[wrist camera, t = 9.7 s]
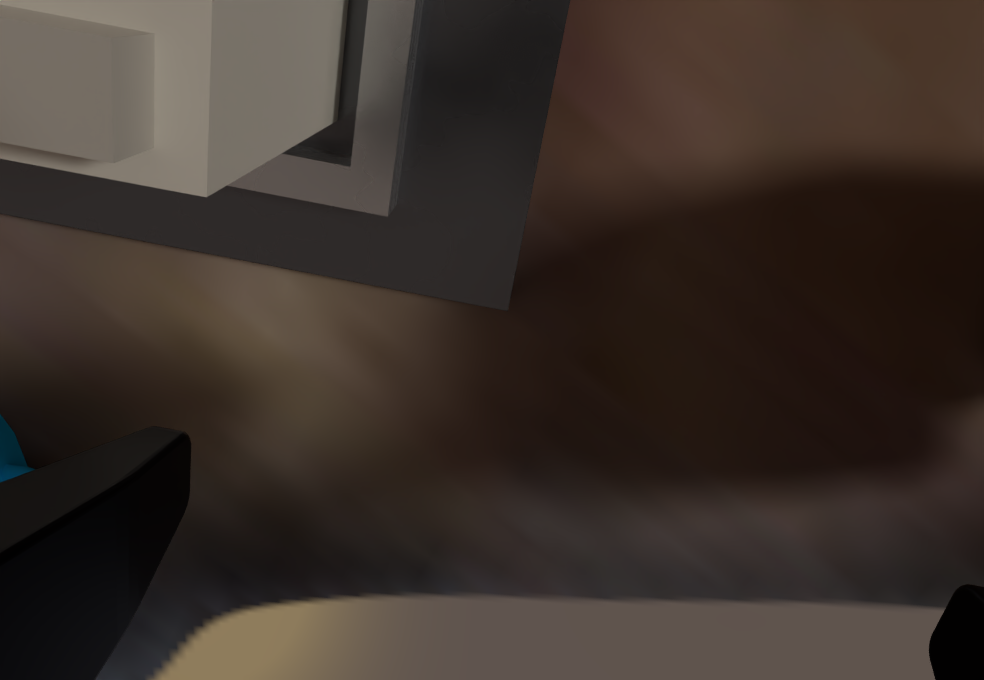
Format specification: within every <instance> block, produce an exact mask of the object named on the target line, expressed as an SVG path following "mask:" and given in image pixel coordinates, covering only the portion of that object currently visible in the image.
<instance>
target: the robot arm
mask: <svg viewBox="0 0 984 680" xmlns="http://www.w3.org/2000/svg"><path fill="white" fill-rule="evenodd" d="M190 466H191V441H190V437H189V436H188V434H187V433H185V432H182V431H177V430H172V429H167V428H162V427H157V426H155V427H149V428H146V429H144V430H141V431H138V432H135V433H133V434H130V435H127V436H125V437H122V438H119V439H117V440H114V441H111V442H108V443H106V444H103V445H100V446H98V447H95V448H92V449H90V450H87V451H84V452H81V453H79V454H76V455H73V456H71V457H68V458H65V459H63V460H60V461H57V462H54V463H52V464H49V465H46V466H44V467H41V468H38V469H36V470H33V471H30V472H27V473H25V474H22V475H19V476H17V477H14V478H11V479H8V480H6V481H3V482H0V680H95V679H96V677H97V676H98V674H99V673H100V671H101V670H102V668H103V666H104V665H105V663H106V662H107V660H108V659H109V657H110V655H111V654H112V652H113V651H114V649H115V648H116V646H117V645H118V643H119V641H120V640H121V638H122V636H123V635H124V633H125V631H126V630H127V628H128V626H129V624H130V623H131V621H132V619H133V617H134V615H135V613H136V611H137V609H138V607H139V605H140V603H141V601H142V599H143V597H144V595H145V593H146V591H147V589H148V587H149V585H150V583H151V580H152V578H153V576H154V574H155V572H156V570H157V568H158V566H159V564H160V562H161V560H162V558H163V556H164V554H165V552H166V550H167V548H168V546H169V544H170V542H171V539H172V537H173V535H174V533H175V531H176V529H177V527H178V525H179V523H180V521H181V519H182V517H183V515H184V513H185V510H186V507H187V504H188V500H189V493H190ZM929 656H930V661H931V665H932V669H933V672H934V676H935V679H936V680H984V587H981V586H976V585H970V584H966V585H963V586H960V587H959V588H958V589H957V590H956V591H955V592H954V594H953V596H952V597H951V599H950V601H949V603H948V605H947V607H946V609H945V611H944V613H943V615H942V616H941V618H940V620H939V622H938V624H937V626H936V628H935V630H934V632H933V634H932V636H931V639H930V644H929Z"/></svg>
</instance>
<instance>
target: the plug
mask: <svg viewBox="0 0 984 680" xmlns="http://www.w3.org/2000/svg"><path fill="white" fill-rule="evenodd" d="M347 11H348V0H0V159H5V160H10V161H16V162H21V163H26V164H32V165H37V166H42V167H48V168H53V169H58V170H64V171H69V172H74V173H80V174H85V175H90V176H96V177H101V178H106V179H111V180H117V181H122V182H127V183H133V184H138V185H143V186H149V187H154V188H159V189H165V190H170V191H175V192H181V193H186V194H191V195H197V196H202V197H208V196H210V195H211V194H213V193H215V192H217V191H218V190H220V189H222V188H223V187H225V186H227V185H228V184H230V183H232V182H234V181H235V180H237V179H239V178H240V177H242V176H244V175H245V174H247V173H249V172H251V171H252V170H254V169H256V168H257V167H259V166H261V165H263V164H264V163H266V162H268V161H269V160H271V159H273V158H274V157H276V156H278V155H280V154H281V153H283V152H285V151H286V150H288V149H290V148H291V147H293V146H295V145H297V144H298V143H300V142H302V141H303V140H305V139H307V138H309V137H310V136H312V135H314V134H315V133H317V132H319V131H320V130H322V129H324V128H326V127H327V126H329V125H331V124H332V123H334V122H336V121H337V119H338V108H339V98H340V87H341V76H342V65H343V54H344V44H345V33H346V22H347Z"/></svg>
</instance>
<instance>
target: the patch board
mask: <svg viewBox="0 0 984 680" xmlns="http://www.w3.org/2000/svg"><path fill="white" fill-rule="evenodd" d="M569 3H570V0H348V11H347V22H346V33H345V44H344V54H343V65H342V76H341V87H340V98H339V108H338V119H337V121H336V122H334V123H332V124H331V125H329V126H327V127H326V128H324V129H322V130H320V131H319V132H317V133H315V134H314V135H312V136H310V137H309V138H307V139H305V140H303V141H302V142H300V143H298V144H297V145H295V146H293V147H291V148H290V149H288V150H286V151H285V152H283V153H281V154H280V155H278V156H276V157H274V158H273V159H271V160H269V161H268V162H266V163H264V164H263V165H261V166H259V167H257V168H256V169H254V170H252V171H251V172H249V173H247V174H245V175H244V176H242V177H240V178H239V179H237V180H235V181H234V182H232V183H230V184H228V185H227V186H225V187H223V188H222V189H220V190H218V191H217V192H215V193H213V194H211V195H210V196H208V197H202V196H197V195H191V194H186V193H181V192H175V191H170V190H165V189H159V188H154V187H149V186H143V185H138V184H133V183H127V182H122V181H117V180H111V179H106V178H101V177H96V176H90V175H85V174H80V173H74V172H69V171H64V170H58V169H53V168H48V167H42V166H37V165H32V164H26V163H21V162H16V161H10V160H5V159H0V213H1V214H6V215H11V216H16V217H21V218H27V219H32V220H37V221H42V222H47V223H53V224H58V225H63V226H68V227H73V228H78V229H84V230H89V231H94V232H99V233H104V234H110V235H115V236H120V237H125V238H130V239H136V240H141V241H146V242H151V243H156V244H162V245H167V246H172V247H177V248H182V249H188V250H193V251H198V252H203V253H208V254H213V255H219V256H224V257H229V258H234V259H239V260H245V261H250V262H255V263H260V264H265V265H271V266H276V267H281V268H286V269H291V270H297V271H302V272H307V273H312V274H317V275H323V276H328V277H333V278H338V279H343V280H349V281H354V282H359V283H364V284H369V285H374V286H380V287H385V288H390V289H395V290H400V291H406V292H411V293H416V294H421V295H426V296H432V297H437V298H442V299H447V300H452V301H458V302H463V303H468V304H473V305H478V306H484V307H489V308H494V309H499V310H504V311H508V307H509V302H510V297H511V292H512V287H513V282H514V277H515V272H516V267H517V262H518V257H519V252H520V247H521V242H522V237H523V232H524V228H525V223H526V218H527V213H528V208H529V203H530V198H531V193H532V188H533V183H534V178H535V173H536V168H537V163H538V158H539V153H540V148H541V143H542V138H543V133H544V128H545V123H546V118H547V113H548V108H549V103H550V98H551V93H552V88H553V83H554V78H555V73H556V68H557V63H558V58H559V53H560V48H561V43H562V38H563V33H564V28H565V23H566V18H567V13H568V8H569Z"/></svg>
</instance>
